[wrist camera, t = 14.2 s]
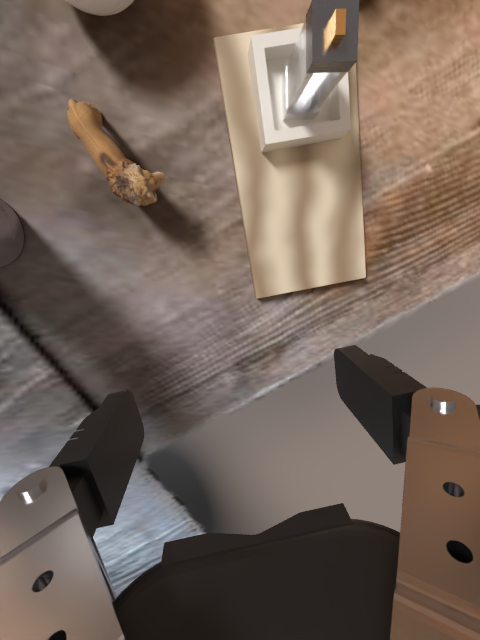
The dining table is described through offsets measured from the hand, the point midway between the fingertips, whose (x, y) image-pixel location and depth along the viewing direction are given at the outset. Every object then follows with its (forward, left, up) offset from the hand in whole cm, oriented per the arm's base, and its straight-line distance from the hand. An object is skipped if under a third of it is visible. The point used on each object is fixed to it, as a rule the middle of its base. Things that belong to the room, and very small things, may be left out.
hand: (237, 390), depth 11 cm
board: (+12, +12, -30) cm, 35 cm away
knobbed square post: (+13, +20, -28) cm, 37 cm away
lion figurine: (-9, +17, -30) cm, 36 cm away
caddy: (+13, +20, -29) cm, 37 cm away
